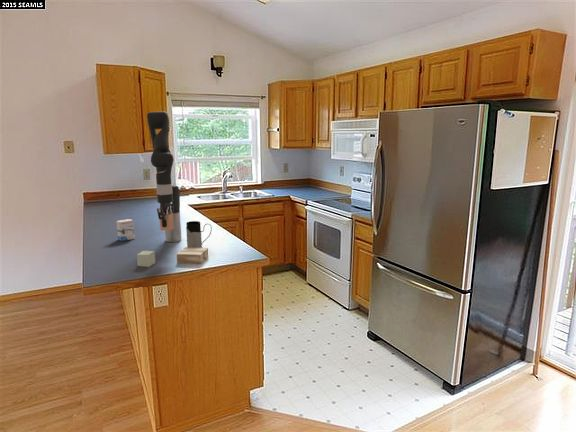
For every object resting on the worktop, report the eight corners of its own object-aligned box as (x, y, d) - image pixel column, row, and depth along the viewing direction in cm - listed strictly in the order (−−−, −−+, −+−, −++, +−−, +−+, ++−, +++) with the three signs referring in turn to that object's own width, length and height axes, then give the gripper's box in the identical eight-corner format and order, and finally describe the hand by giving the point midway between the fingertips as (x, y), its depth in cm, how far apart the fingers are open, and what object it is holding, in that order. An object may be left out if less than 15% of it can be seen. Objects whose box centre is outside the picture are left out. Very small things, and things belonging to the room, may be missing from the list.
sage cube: (144, 262, 189) (143, 250, 188) (155, 262, 188) (154, 251, 187) (137, 266, 183) (136, 254, 182) (149, 266, 182) (148, 254, 181)
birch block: (186, 256, 199) (185, 247, 198) (208, 257, 198) (207, 248, 197) (177, 263, 187) (176, 254, 186) (200, 264, 186) (200, 255, 185)
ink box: (120, 241, 225) (119, 222, 223) (117, 239, 229) (115, 220, 226) (135, 238, 231) (133, 220, 229) (131, 237, 235) (130, 218, 232)
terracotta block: (165, 227, 197) (164, 212, 196) (174, 228, 197) (173, 213, 195) (160, 230, 193) (159, 214, 191) (169, 230, 192) (168, 215, 190)
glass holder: (185, 247, 214) (184, 221, 211) (211, 244, 219) (209, 219, 216) (187, 251, 206) (186, 224, 203) (213, 249, 211) (212, 222, 208)
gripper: (164, 190, 198) (166, 222, 202) (150, 195, 184) (153, 228, 188) (178, 190, 197) (180, 222, 200) (164, 195, 183) (167, 229, 187)
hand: (167, 225), depth 194 cm, fingers closed on terracotta block, 5 cm apart
